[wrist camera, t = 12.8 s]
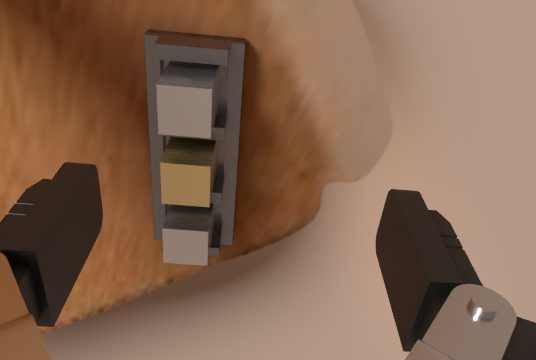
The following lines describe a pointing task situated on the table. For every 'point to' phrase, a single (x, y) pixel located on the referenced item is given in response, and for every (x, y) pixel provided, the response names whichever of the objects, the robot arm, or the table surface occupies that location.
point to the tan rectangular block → (188, 171)
